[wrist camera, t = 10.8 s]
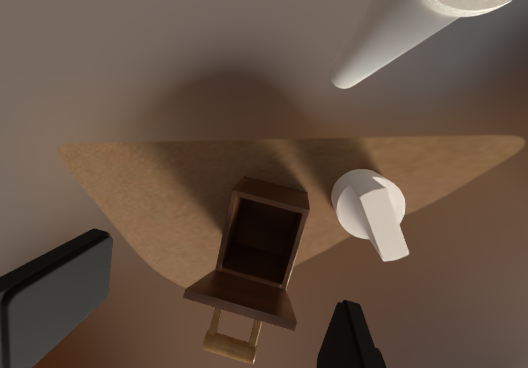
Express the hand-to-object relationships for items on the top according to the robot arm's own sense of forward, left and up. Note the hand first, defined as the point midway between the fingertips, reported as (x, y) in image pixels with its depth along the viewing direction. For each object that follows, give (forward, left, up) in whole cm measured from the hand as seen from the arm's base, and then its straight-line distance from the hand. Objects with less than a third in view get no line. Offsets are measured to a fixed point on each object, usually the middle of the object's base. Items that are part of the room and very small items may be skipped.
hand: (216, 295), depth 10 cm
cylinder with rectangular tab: (-2, +14, -32) cm, 35 cm away
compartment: (+9, +3, -32) cm, 34 cm away
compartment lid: (+12, +4, -17) cm, 21 cm away
